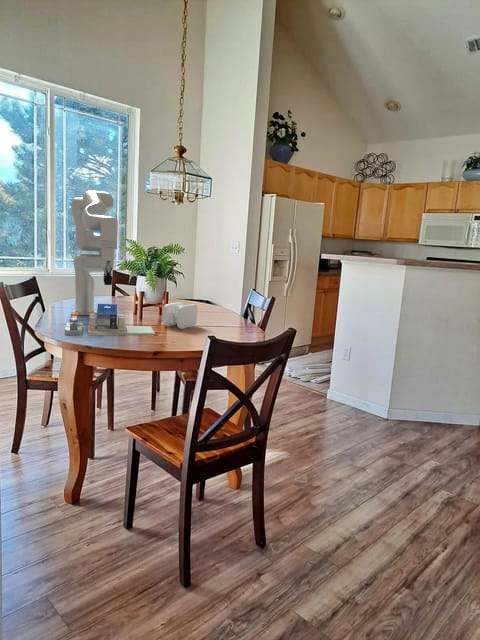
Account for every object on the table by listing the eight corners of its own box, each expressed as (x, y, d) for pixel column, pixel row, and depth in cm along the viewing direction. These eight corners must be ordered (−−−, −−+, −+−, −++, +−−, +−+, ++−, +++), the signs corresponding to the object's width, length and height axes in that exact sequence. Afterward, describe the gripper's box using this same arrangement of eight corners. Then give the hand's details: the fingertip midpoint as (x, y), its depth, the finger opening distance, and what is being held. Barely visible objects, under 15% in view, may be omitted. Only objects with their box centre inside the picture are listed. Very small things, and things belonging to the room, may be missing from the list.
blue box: (96, 331, 204) (96, 305, 201) (96, 329, 207) (97, 303, 205) (116, 332, 206) (117, 305, 204) (116, 330, 210) (117, 304, 207)
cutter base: (66, 326, 208) (66, 318, 207) (82, 327, 210) (82, 318, 210) (64, 334, 194) (64, 325, 193) (82, 334, 196) (82, 325, 196)
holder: (88, 326, 212) (88, 312, 210) (123, 327, 217) (123, 312, 215) (88, 335, 197) (88, 319, 195) (125, 335, 202) (126, 319, 201)
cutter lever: (71, 320, 210) (71, 312, 209) (78, 320, 211) (78, 312, 210) (69, 327, 196) (69, 318, 195) (77, 327, 197) (77, 318, 196)
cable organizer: (178, 330, 220) (179, 307, 217) (161, 326, 225) (162, 303, 223) (196, 326, 232) (198, 304, 230) (180, 322, 237) (181, 301, 235)
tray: (125, 327, 216) (125, 326, 216) (150, 327, 220) (150, 326, 220) (127, 334, 203) (127, 332, 203) (154, 334, 207) (154, 333, 207)
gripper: (99, 243, 206) (98, 280, 209) (100, 245, 190) (99, 285, 193) (116, 244, 208) (115, 281, 212) (118, 246, 192) (117, 286, 196)
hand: (107, 283), depth 202 cm, fingers open, 9 cm apart
